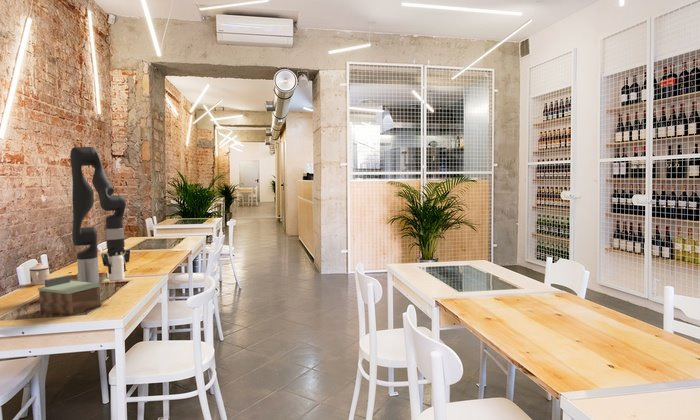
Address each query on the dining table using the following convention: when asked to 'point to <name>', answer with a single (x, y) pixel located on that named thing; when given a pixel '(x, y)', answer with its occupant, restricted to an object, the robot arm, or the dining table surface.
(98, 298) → the chest
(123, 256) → the robot arm
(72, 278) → the hardcover book
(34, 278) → the teacup with lid
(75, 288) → the lid
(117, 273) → the can
